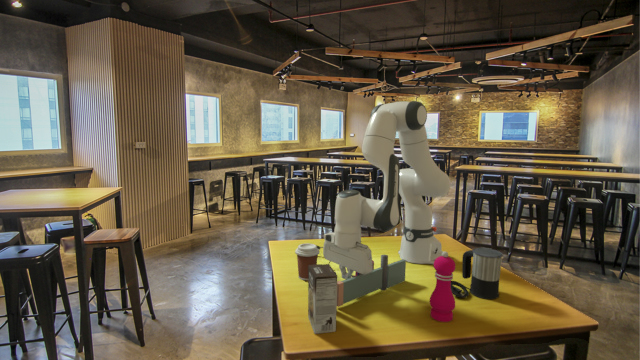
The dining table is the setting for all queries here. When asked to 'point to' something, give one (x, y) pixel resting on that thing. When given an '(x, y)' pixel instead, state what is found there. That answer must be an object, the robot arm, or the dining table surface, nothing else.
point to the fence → (392, 272)
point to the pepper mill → (443, 289)
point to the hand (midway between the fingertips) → (346, 278)
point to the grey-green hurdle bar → (358, 286)
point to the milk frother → (480, 273)
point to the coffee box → (322, 298)
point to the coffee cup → (306, 258)
